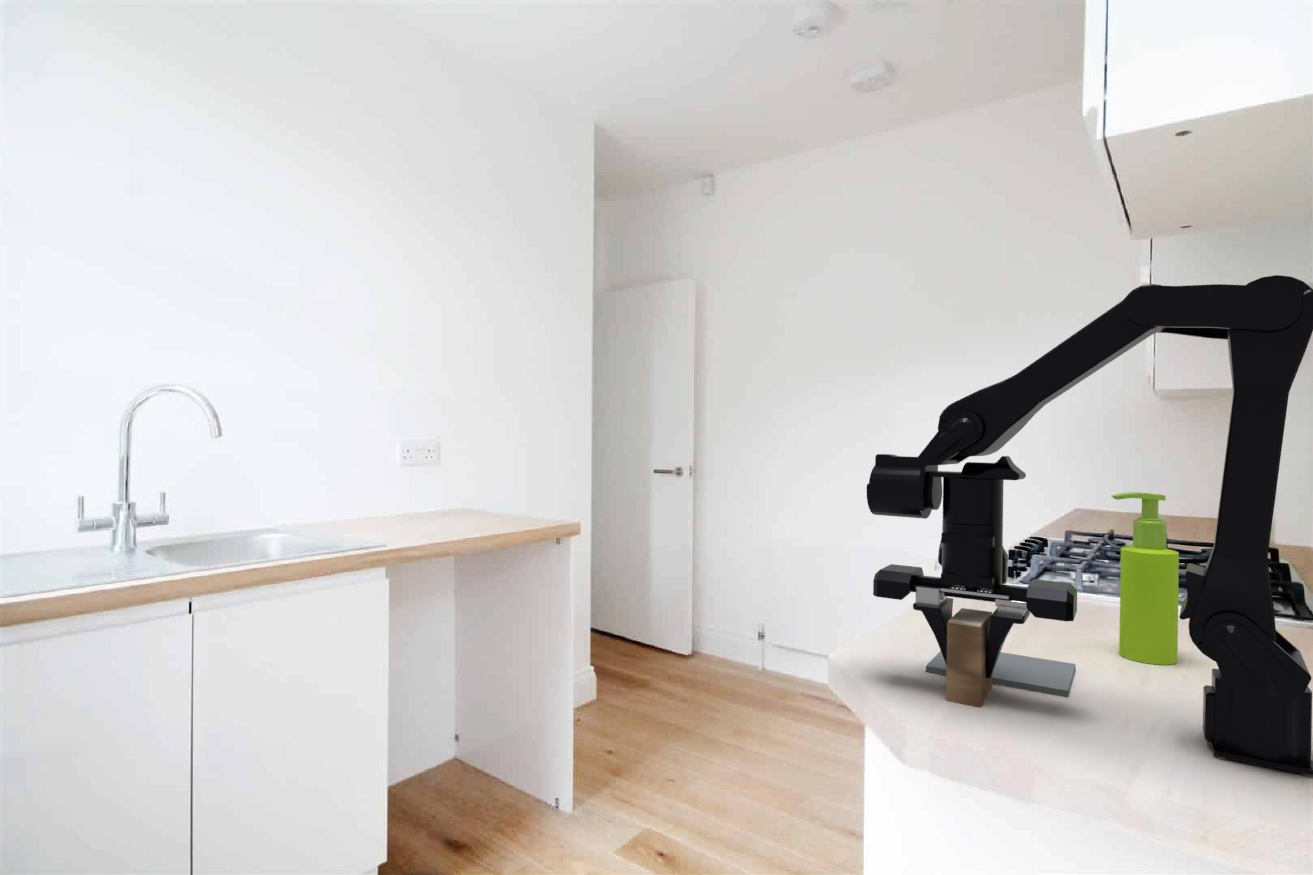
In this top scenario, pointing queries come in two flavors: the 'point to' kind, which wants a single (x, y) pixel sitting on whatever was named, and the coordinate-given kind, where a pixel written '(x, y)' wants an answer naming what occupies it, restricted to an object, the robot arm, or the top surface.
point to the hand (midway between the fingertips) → (970, 674)
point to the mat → (1023, 673)
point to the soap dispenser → (1149, 589)
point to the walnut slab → (967, 657)
